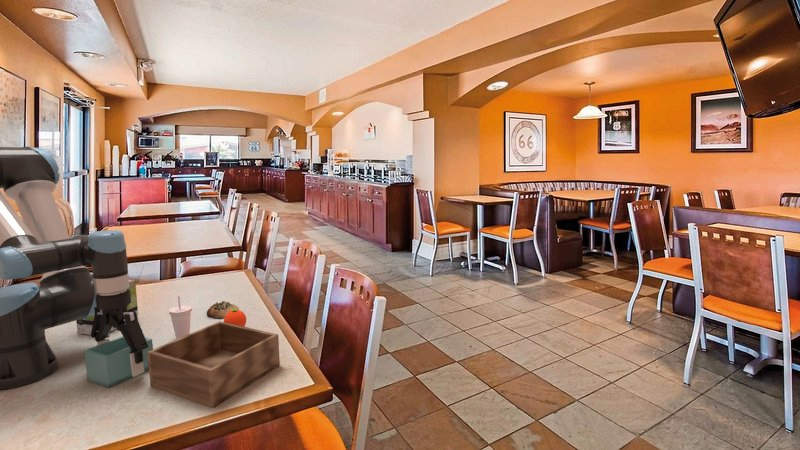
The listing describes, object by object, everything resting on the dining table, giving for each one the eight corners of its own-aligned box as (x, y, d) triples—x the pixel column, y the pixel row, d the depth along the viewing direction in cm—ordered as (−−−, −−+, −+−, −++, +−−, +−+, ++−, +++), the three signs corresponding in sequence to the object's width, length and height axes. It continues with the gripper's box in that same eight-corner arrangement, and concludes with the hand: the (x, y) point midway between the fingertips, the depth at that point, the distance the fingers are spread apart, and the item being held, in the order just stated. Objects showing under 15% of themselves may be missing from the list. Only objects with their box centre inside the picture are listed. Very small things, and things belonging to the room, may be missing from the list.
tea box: (103, 336, 136) (97, 292, 134) (76, 334, 138) (71, 290, 136) (140, 319, 151) (135, 278, 149) (115, 317, 153) (111, 277, 151)
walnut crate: (213, 407, 97) (210, 370, 96) (150, 386, 107) (147, 352, 105) (279, 365, 117) (278, 334, 115) (221, 350, 126) (219, 321, 125)
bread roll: (203, 312, 157) (204, 299, 157) (234, 309, 164) (235, 297, 164) (210, 322, 149) (211, 308, 148) (242, 319, 155) (244, 306, 155)
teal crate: (109, 387, 106) (105, 357, 105) (87, 379, 110) (83, 350, 108) (154, 366, 117) (152, 338, 115) (133, 360, 120) (130, 333, 119)
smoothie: (169, 343, 131) (165, 299, 129) (174, 335, 137) (170, 293, 135) (192, 341, 133) (188, 297, 130) (195, 333, 139) (192, 291, 137)
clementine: (224, 327, 143) (222, 307, 142) (245, 323, 146) (244, 304, 145) (224, 336, 136) (223, 314, 135) (247, 332, 139) (246, 311, 138)
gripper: (158, 293, 108) (166, 372, 111) (99, 281, 118) (107, 353, 122) (128, 302, 101) (137, 386, 104) (68, 288, 112) (78, 365, 115)
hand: (121, 368), depth 113 cm, fingers open, 13 cm apart
